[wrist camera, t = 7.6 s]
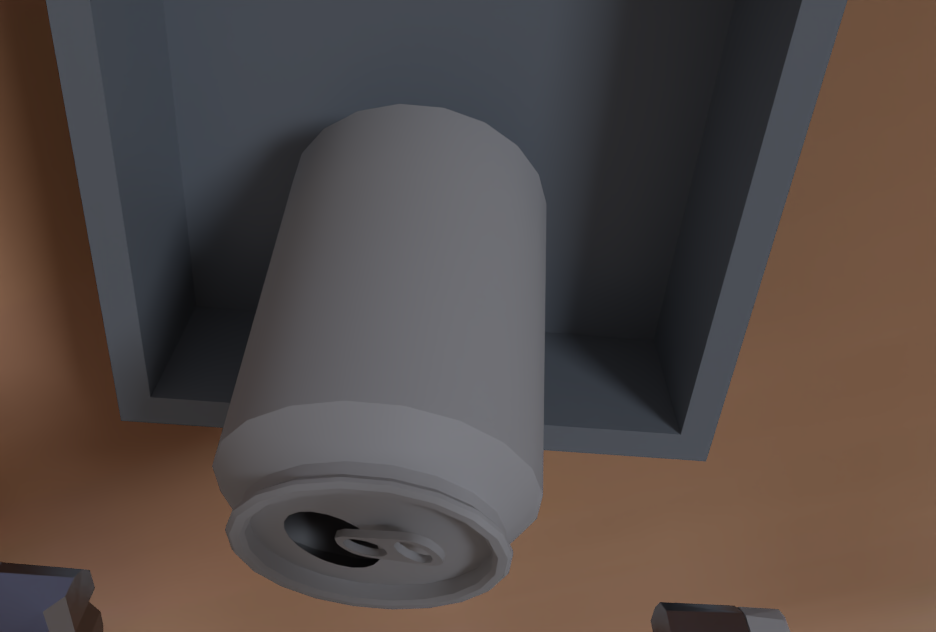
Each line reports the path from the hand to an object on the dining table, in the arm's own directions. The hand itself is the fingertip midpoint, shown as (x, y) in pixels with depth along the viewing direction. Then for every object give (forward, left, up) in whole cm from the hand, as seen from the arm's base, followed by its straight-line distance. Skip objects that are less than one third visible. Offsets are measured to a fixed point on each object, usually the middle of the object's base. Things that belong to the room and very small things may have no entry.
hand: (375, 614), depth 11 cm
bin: (0, 0, -19) cm, 19 cm away
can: (0, +2, -17) cm, 18 cm away
